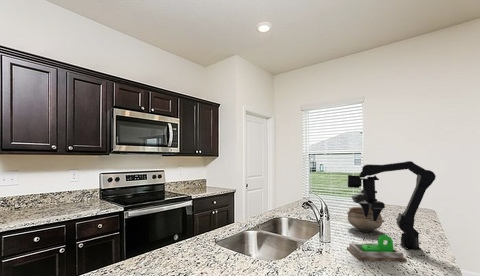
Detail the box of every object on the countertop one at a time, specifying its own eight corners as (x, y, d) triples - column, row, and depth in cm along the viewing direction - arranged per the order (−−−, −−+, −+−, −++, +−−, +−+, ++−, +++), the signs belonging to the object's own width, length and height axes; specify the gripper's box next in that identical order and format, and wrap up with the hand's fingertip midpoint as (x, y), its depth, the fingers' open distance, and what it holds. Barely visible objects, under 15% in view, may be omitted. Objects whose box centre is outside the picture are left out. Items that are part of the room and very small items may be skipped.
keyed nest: (389, 249, 118) (389, 243, 119) (406, 261, 105) (406, 253, 106) (346, 249, 119) (346, 242, 119) (358, 260, 106) (358, 253, 106)
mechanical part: (386, 249, 116) (385, 232, 116) (393, 254, 110) (392, 236, 110) (359, 249, 116) (359, 231, 117) (365, 254, 110) (364, 235, 111)
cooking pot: (395, 234, 142) (394, 212, 143) (372, 238, 134) (371, 215, 135) (358, 223, 165) (358, 204, 166) (337, 226, 157) (336, 207, 158)
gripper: (346, 186, 140) (347, 214, 139) (361, 190, 121) (362, 223, 120) (366, 186, 139) (367, 214, 138) (384, 190, 121) (386, 223, 120)
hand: (370, 218), depth 129 cm, fingers open, 9 cm apart
